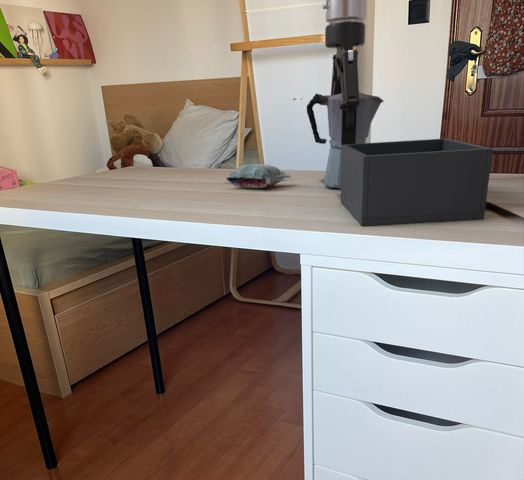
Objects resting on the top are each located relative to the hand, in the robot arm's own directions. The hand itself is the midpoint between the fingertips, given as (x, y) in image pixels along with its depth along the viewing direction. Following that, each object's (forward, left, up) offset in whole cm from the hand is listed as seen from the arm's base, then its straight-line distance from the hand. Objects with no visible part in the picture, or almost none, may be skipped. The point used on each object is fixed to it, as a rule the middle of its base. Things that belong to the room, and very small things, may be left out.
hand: (342, 143), depth 109 cm
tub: (-6, +27, -9) cm, 29 cm away
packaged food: (+18, -6, -9) cm, 21 cm away
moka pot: (0, 0, -9) cm, 9 cm away
